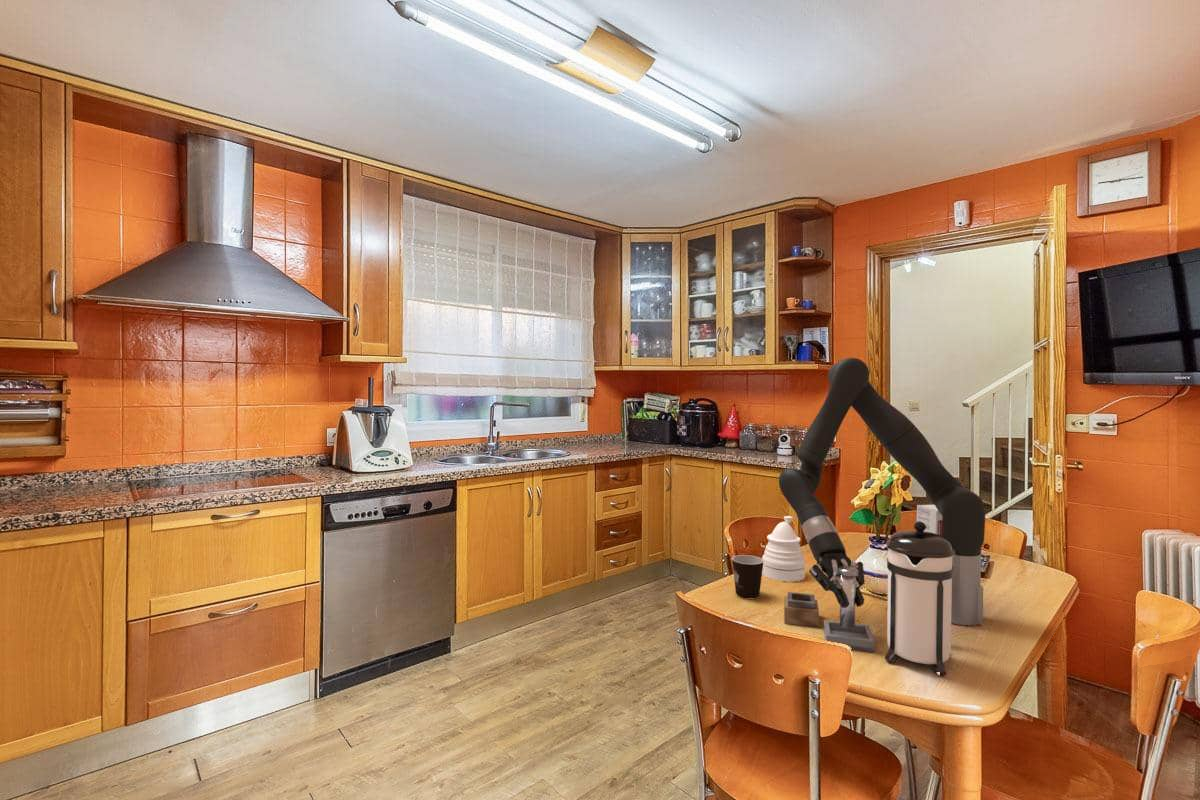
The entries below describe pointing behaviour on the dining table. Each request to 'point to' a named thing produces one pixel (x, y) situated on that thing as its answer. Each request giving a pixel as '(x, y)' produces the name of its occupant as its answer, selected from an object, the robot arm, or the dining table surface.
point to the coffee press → (919, 597)
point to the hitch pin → (848, 595)
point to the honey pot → (784, 554)
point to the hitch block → (801, 609)
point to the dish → (850, 636)
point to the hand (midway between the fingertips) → (853, 605)
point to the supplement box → (930, 518)
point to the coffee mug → (747, 575)
